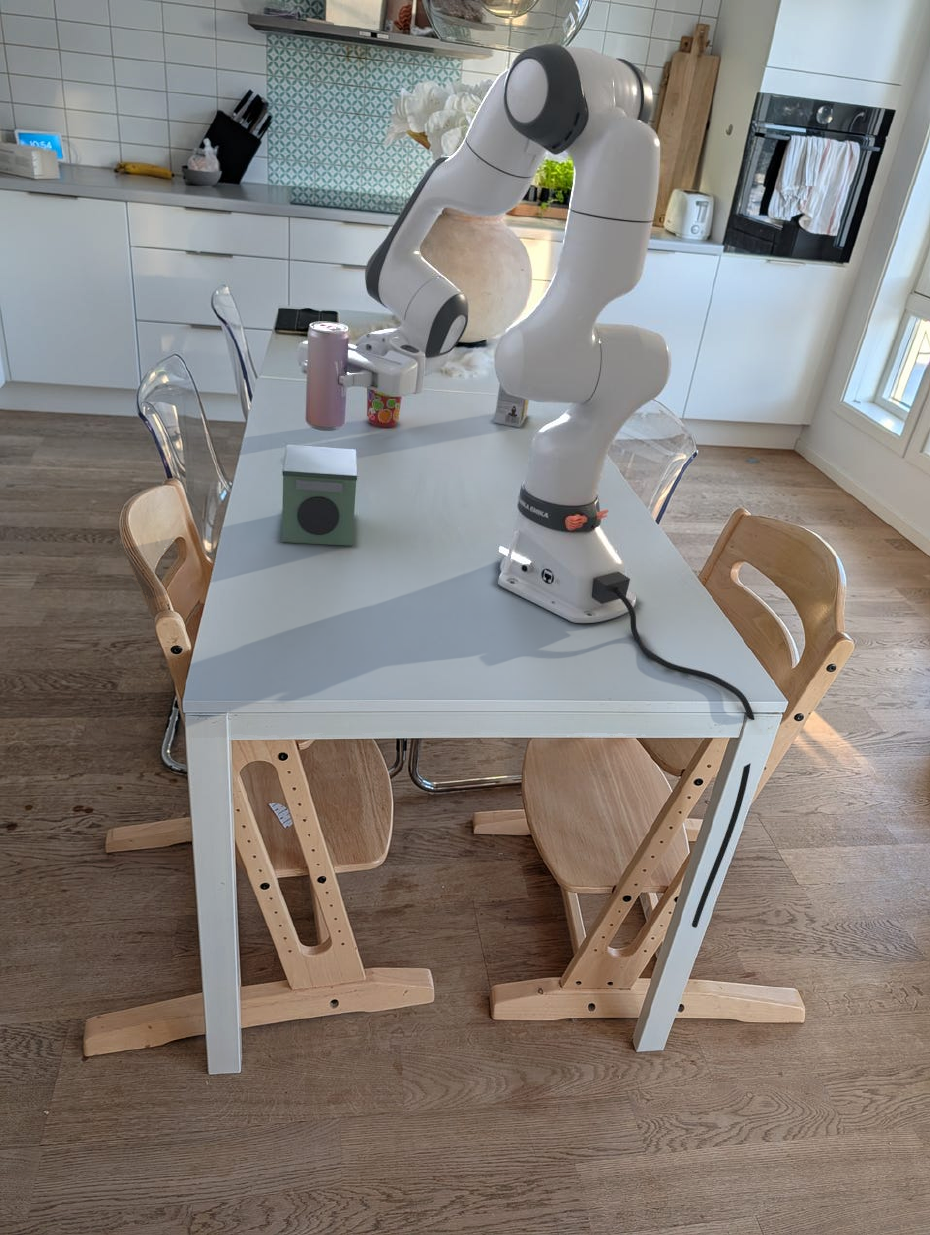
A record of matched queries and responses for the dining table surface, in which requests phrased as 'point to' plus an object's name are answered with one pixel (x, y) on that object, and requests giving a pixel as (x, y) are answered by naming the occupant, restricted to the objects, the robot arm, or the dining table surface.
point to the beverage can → (326, 375)
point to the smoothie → (382, 408)
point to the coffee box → (510, 409)
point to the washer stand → (318, 495)
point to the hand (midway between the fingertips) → (323, 375)
